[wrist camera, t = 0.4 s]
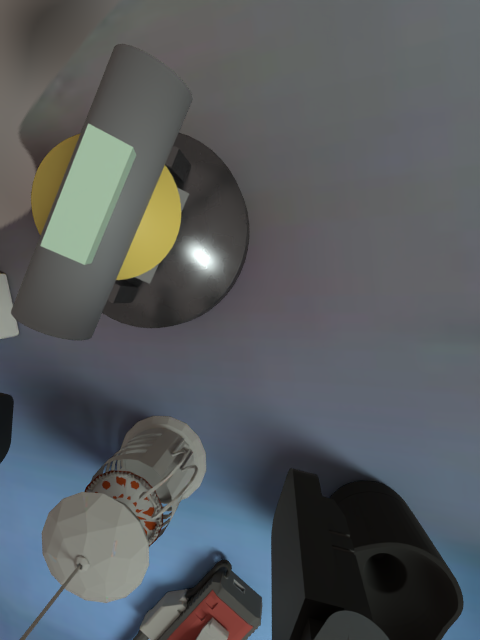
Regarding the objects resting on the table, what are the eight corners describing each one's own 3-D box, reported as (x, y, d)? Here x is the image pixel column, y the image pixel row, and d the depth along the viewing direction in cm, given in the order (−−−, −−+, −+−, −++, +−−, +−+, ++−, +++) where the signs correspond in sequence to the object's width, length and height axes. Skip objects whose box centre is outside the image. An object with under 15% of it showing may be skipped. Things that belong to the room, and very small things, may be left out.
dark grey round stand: (125, 122, 37) (79, 73, 29) (282, 192, 35) (280, 160, 27) (61, 280, 39) (2, 275, 31) (206, 353, 37) (184, 368, 29)
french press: (103, 444, 39) (-210, 692, 15) (186, 389, 38) (-8, 565, 13) (152, 519, 39) (-83, 899, 14) (238, 467, 37) (140, 798, 13)
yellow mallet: (133, 157, 30) (46, -26, 10) (197, 191, 32) (240, 93, 11) (89, 264, 32) (-72, 302, 11) (153, 291, 33) (117, 371, 12)
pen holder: (306, 487, 37) (313, 557, 27) (398, 464, 35) (441, 529, 25) (335, 572, 37) (352, 673, 27) (427, 553, 35) (481, 652, 25)
